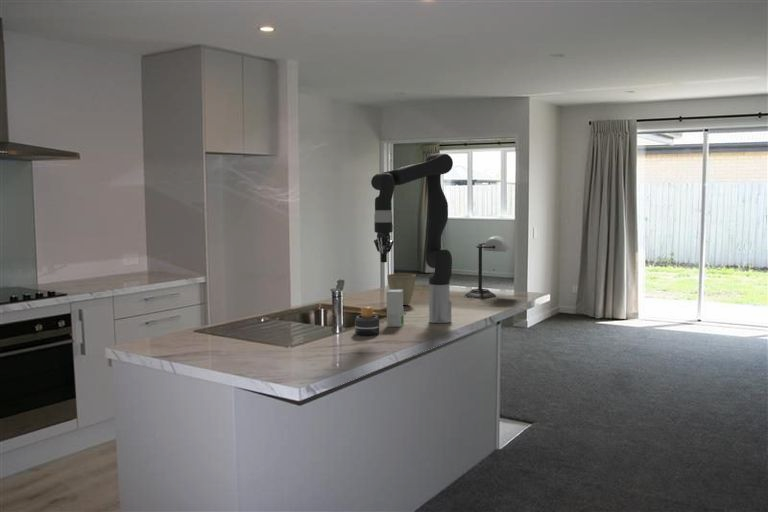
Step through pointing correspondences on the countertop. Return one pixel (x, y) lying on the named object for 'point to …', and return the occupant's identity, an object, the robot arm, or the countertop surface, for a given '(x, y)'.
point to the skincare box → (395, 308)
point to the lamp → (490, 245)
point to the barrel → (367, 326)
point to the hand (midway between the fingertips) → (383, 262)
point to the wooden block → (367, 312)
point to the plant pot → (402, 285)
